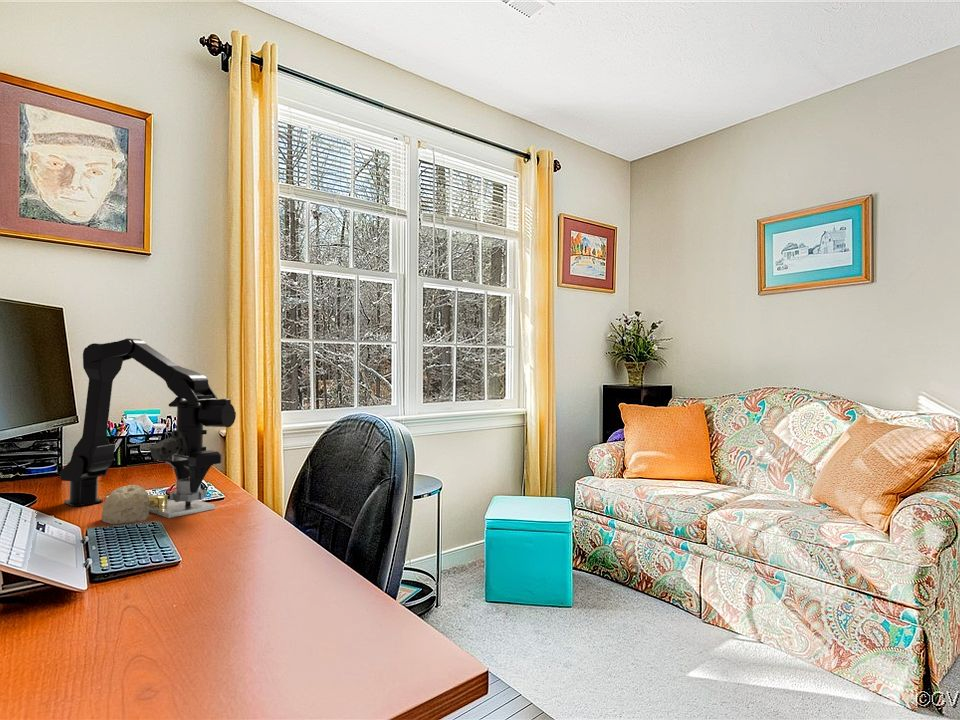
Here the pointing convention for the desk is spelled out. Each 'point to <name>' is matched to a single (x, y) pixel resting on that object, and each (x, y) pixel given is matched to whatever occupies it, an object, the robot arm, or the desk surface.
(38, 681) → the desk surface
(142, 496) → the brown rounded stone
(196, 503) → the carrier plate
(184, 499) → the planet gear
